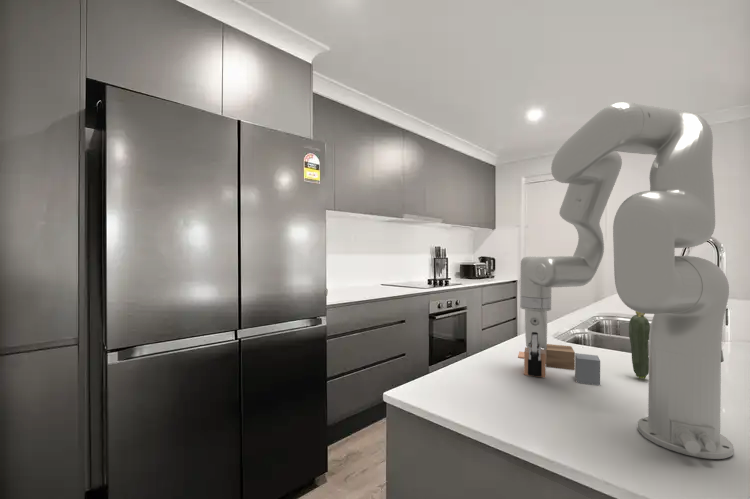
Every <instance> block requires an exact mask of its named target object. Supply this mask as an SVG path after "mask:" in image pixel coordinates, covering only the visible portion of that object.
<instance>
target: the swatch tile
mask: <svg viewBox="0 0 750 499" xmlns="http://www.w3.org/2000/svg"><path fill="white" fill-rule="evenodd" d="M517 358H518V359H524V351H519V352H518V356H517Z"/></svg>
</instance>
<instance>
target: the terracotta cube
mask: <svg viewBox="0 0 750 499" xmlns="http://www.w3.org/2000/svg"><path fill="white" fill-rule="evenodd" d="M531 351H532V350H531ZM523 352H524V358H523V359H524V360H523V361H524V362H523V363H524V364H523V373H524V376H529V377H530V376H531V377H533V376H532V375H528V359H529V348H527V347H526V346H525V348H524V351H523ZM537 352H538V351H537ZM545 352H546V350H544V348H541V361H542V375H541V377H539V376H535V377H536V378H546V364H545Z"/></svg>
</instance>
